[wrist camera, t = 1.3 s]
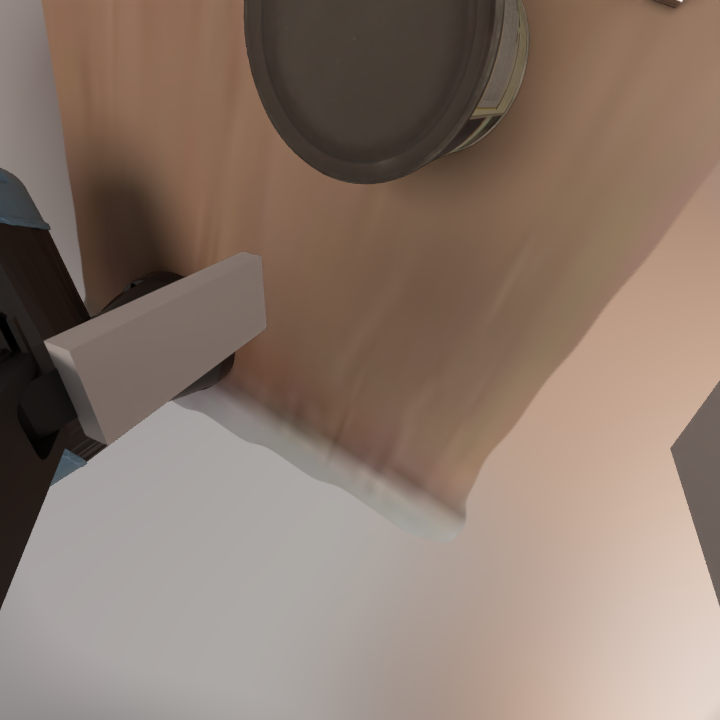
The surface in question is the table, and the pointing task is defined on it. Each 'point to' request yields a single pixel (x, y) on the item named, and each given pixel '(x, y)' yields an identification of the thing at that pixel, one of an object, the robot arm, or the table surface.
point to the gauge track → (670, 2)
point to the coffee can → (384, 78)
